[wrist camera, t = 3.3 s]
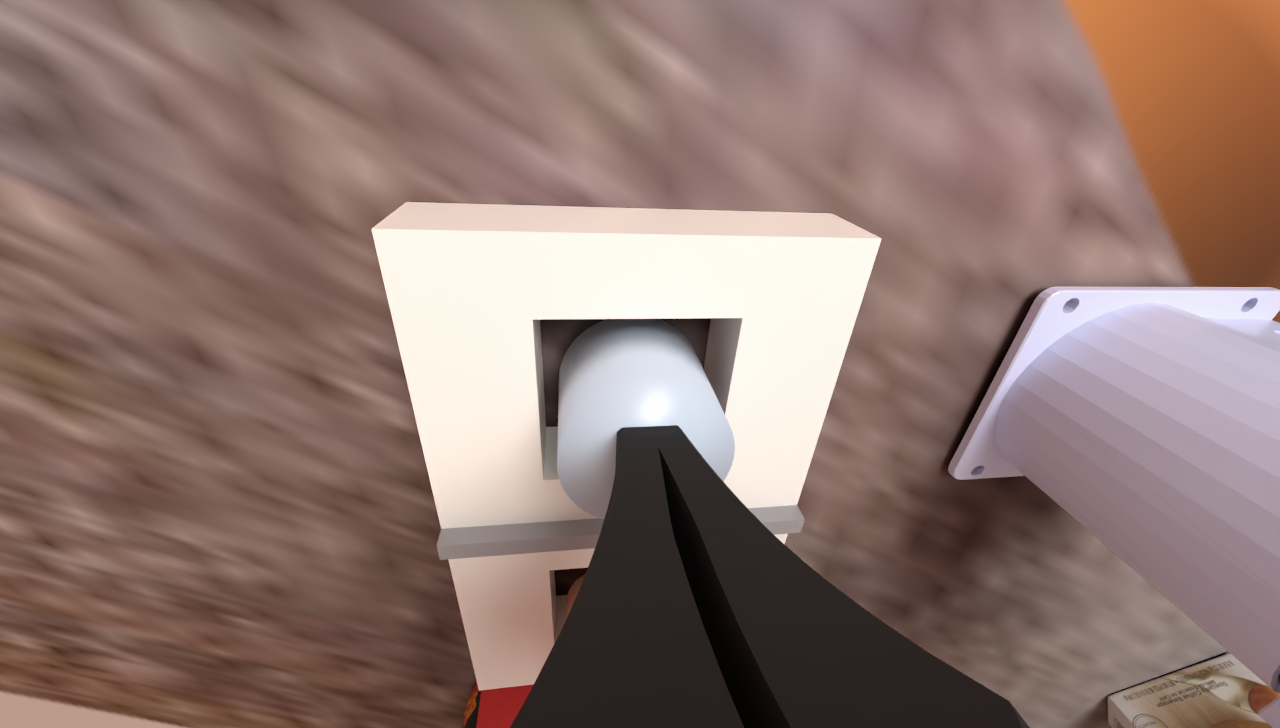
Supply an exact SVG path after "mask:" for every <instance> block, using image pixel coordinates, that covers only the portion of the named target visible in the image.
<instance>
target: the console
mask: <svg viewBox="0 0 1280 728" xmlns="http://www.w3.org/2000/svg"><path fill="white" fill-rule="evenodd" d="M372 234H373V238H374V242H375V247H376V251H377V255H378V259H379V264H380V268H381V272H382V277H383V281H384V285H385V290H386V294H387V298H388V302H389V307H390V311H391V315H392V320H393V324H394V328H395V332H396V337H397V341H398V345H399V350H400V354H401V358H402V363H403V367H404V371H405V375H406V380H407V384H408V388H409V393H410V397H411V401H412V406H413V410H414V414H415V418H416V423H417V427H418V431H419V436H420V440H421V444H422V449H423V453H424V457H425V461H426V466H427V470H428V474H429V479H430V483H431V487H432V492H433V496H434V500H435V504H436V509H437V513H438V517H439V522H440V526H441V531H440V535H439V538H438V542H437V546H436V547H437V551H438V555H439V559H440V560H446V559H448V560H449V565H450V569H451V573H452V577H453V582H454V586H455V590H456V595H457V599H458V603H459V608H460V612H461V616H462V620H463V625H464V629H465V633H466V638H467V642H468V646H469V651H470V655H471V659H472V663H473V668H474V672H475V676H476V681H477V685H478V689H479V691H480V690H489V689H498V688H506V687H515V686H524V685H533V684H534V683H535V681H536V679H537V677H538V675H539V673H540V671H541V669H542V667H543V665H544V663H545V661H546V660H547V658H548V656H549V654H550V652H551V650H552V648H553V646H554V644H555V642H556V640H557V638H558V636H559V634H560V632H561V630H562V627H563V625H564V623H565V621H566V619H567V595H559V596H556V588H555V571H554V570H562V569H574V568H587V567H588V566H589V564H590V561H591V558H592V556H593V553H594V550H595V547H596V544H597V541H598V538H599V535H600V532H601V529H602V525H603V522H604V520H603V519H600V518H598V517H595V516H593V515H591V514H589V513H587V512H585V511H584V510H582V509H581V508H580V507H578V506H577V505H576V504H575V503H574V502H573V501H572V500H571V499H570V498H569V497H568V495H567V494H566V493H565V491H564V489H563V487H562V485H561V483H560V480H559V477H558V471H557V445H558V427H546V414H545V396H544V379H543V361H542V344H541V326H540V320H544V319H692V318H711V320H710V327H709V334H708V341H707V348H706V355H705V362H704V368H703V370H704V372H705V374H706V376H707V378H708V380H709V382H710V384H711V387H712V389H713V391H714V393H715V395H716V397H717V399H718V401H719V403H720V406H721V408H722V410H723V412H724V414H725V416H726V418H727V420H728V422H729V425H730V427H731V429H732V432H733V436H734V441H735V453H734V459H733V463H732V466H731V468H730V471H729V473H728V475H727V477H726V478H725V480H724V481H723V482H724V483H725V484H726V485H727V486H728V487H729V489H730V490H731V491H732V492H733V493H734V494H735V495H736V496H737V498H738V499H739V500H740V501H741V502H742V503H743V504H744V505H745V506H746V507H747V508H748V509H749V510H750V511H751V512H752V513H753V514H754V515H755V516H756V517H757V518H758V519H759V521H760V522H761V523H762V524H763V525H764V526H765V527H766V528H767V529H769V530H770V531H771V532H772V533H773V534H774V535H775V536H776V537H777V538H778V539H779V540H780V541H781V542H782V543H783V544H785V541H786V538H787V535H788V534H789V533H801V530H802V527H803V524H804V521H805V519H804V517H803V515H802V514H801V512H800V510H799V508H798V506H797V503H798V500H799V497H800V494H801V491H802V487H803V484H804V481H805V478H806V475H807V472H808V469H809V465H810V462H811V459H812V456H813V453H814V450H815V447H816V443H817V440H818V437H819V434H820V431H821V428H822V425H823V421H824V418H825V415H826V412H827V409H828V406H829V402H830V399H831V396H832V393H833V390H834V387H835V384H836V380H837V377H838V374H839V371H840V368H841V365H842V362H843V358H844V355H845V352H846V349H847V346H848V343H849V340H850V336H851V333H852V330H853V327H854V324H855V321H856V318H857V314H858V311H859V308H860V305H861V302H862V299H863V296H864V292H865V289H866V286H867V283H868V280H869V277H870V274H871V270H872V267H873V264H874V261H875V258H876V255H877V252H878V248H879V245H880V242H881V238H879V237H877V236H875V235H873V234H871V233H870V232H868V231H866V230H864V229H862V228H860V227H858V226H856V225H854V224H852V223H850V222H848V221H846V220H844V219H842V218H840V217H838V216H836V215H834V214H831V213H794V212H756V211H719V210H682V209H645V208H608V207H571V206H534V205H497V204H459V203H422V202H406V203H404V204H403V205H402V206H400V207H399V208H398V209H397V210H395V211H394V212H393V213H391V214H390V215H389V216H387V217H386V218H385V219H384V220H382V221H381V222H380V223H378V224H377V225H376V226H374V227H373V228H372Z"/></svg>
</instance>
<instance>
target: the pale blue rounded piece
mask: <svg viewBox="0 0 1280 728" xmlns="http://www.w3.org/2000/svg"><path fill="white" fill-rule="evenodd" d="M672 425H678V426H679V427H680V428H681V429H682V431H683V432H684V433H685V435H686V436H687V437H688V439H689V440H690V441H691V443H692V444H693V445H694V446H695V448H696V449H697V450H698V452H699V453H700V454H701V455H702V457H703V458H704V459H705V460H706V462H707V463H708V464H709V465H710V466H711V468H712V469H713V470H714V471H715V472H716V474H717V475H718V476H719V477H720V478H721V479H722V481H724V480H725V478H726V477H727V475H728V473H729V471H730V468H731V466H732V463H733V459H734V453H735V441H734V436H733V432H732V429H731V427H730V425H729V422H728V420H727V418H726V416H725V414H724V412H723V410H722V408H721V406H720V403H719V401H718V399H717V397H716V395H715V393H714V391H713V389H712V387H711V384H710V382H709V380H708V378H707V376H706V374H705V372H704V370H703V368H702V365H701V363H700V361H699V359H698V357H697V355H696V353H695V351H694V349H693V346H692V345H691V343H690V342H689V340H688V339H687V338H686V337H685V335H684V334H683V333H682V332H681V331H679V330H678V329H677V328H676V327H674V326H673V325H671V324H669V323H667V322H665V321H663V320H661V319H606V320H603V321H601V322H599V323H596V324H594V325H593V326H591V327H590V328H588V329H586V330H585V331H584V332H583V333H581V334H580V335H579V336H578V337H577V338H576V339H575V340H574V341H573V342H572V344H571V345H570V347H569V348H568V349H567V351H566V353H565V355H564V357H563V360H562V363H561V366H560V371H559V402H558V445H557V471H558V477H559V480H560V483H561V485H562V487H563V489H564V491H565V493H566V494H567V495H568V497H569V498H570V499H571V500H572V501H573V502H574V503H575V504H576V505H577V506H578V507H580V508H581V509H582V510H584V511H585V512H587V513H589V514H591V515H593V516H595V517H598V518H600V519H603V520H604V518H605V515H606V512H607V508H608V505H609V501H610V497H611V492H612V487H613V483H614V478H615V467H616V441H617V431H619V430H620V429H621V428H623V427H649V426H672Z"/></svg>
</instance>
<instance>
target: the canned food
mask: <svg viewBox="0 0 1280 728" xmlns="http://www.w3.org/2000/svg"><path fill="white" fill-rule="evenodd" d="M533 685H534V684H533ZM533 685H524V686H515V687H506V688H498V689H489V690H480V691H479V689H478V685H477V682H476V684H475V686H474V689H473V691H472V693H471V696H470V698H469V700H468V703H467V706H466V709H465V715H464V721H463V727H462V728H510V726H511V724H512V723H513V721H514V719H515V717H516V716H517V714H518V712H519V710H520V709H521V707H522V705H523V704H524V702H525V700H526V698H527V696H528V694H529V693H530V691H531V689H532V687H533Z"/></svg>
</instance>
